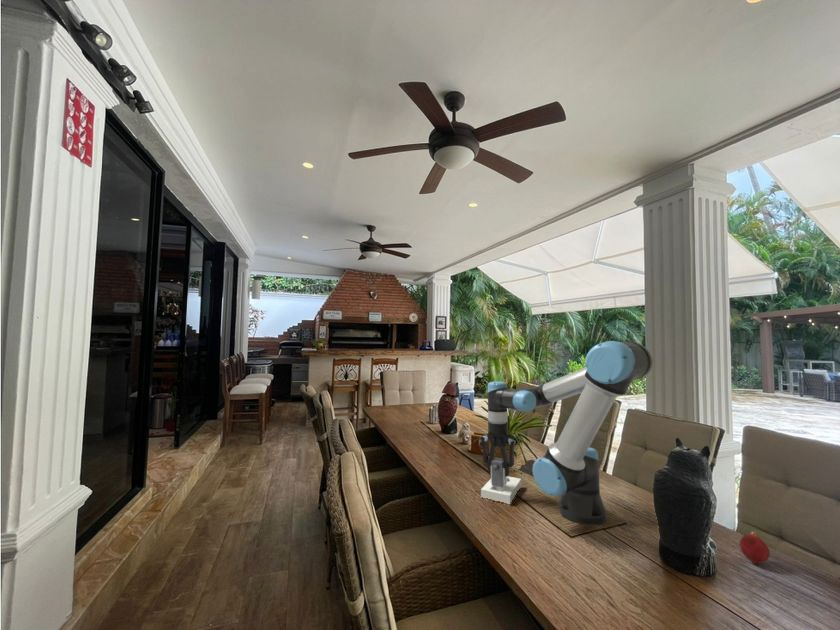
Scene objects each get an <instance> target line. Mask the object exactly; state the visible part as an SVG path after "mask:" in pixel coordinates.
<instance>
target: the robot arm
mask: <svg viewBox="0 0 840 630" xmlns="http://www.w3.org/2000/svg"><path fill="white" fill-rule="evenodd" d="M584 363H585V364H584V365H585V367H583V368H580V369H578V370H576V371H575V370H574V371H573V372H571V373H568V374H566V375H563V376H561V377H558V378H556V379H553V380H551V381H548V382H546V383H545V382H544V384H541V385H538V386H535V387H528V388H520V389H517V388H510V387H509V388H508V384H507V383H506V382H505V381H490V382H488V383H487V392H486V393H487V421H488V422H487V424H488V425H487V434H486V435H483V436H482V437H480V441H481V442H482V458H483V463H484V464H487V467H488V474H490V479H491V483H492V460H493V459H494V458H495V452H496V447H499V449H500V451H501V456H502V459H503V462H504V467H503V486H505V485H506V484H507V477H510V469H509V467H512V466H513V465H514V463H515V445H516V442H517V441H516V439H512V438H510V436H509V429H508V428H509V426H508V409H510V410H512V411H513V410H514V411H518V412H521V413H523V412H524V413H531V412H533V410H534V409H536V408H541V407H547V406H550V405H552V404H554V403H555V402H559V401H561V400H564V399H567V398H571V397H574V396H577V395H579V394H580V396H579V398H578V399H577V402H576V404H575V405H574V407H573V409H572V411H571V413H570V415H569V417H568V420H567V422H566V423H565V425H564V427H563V429H562V431H561V434H560V436H559V437H558V439H557V441H556V442H552V443H550V444H549V446H547V447H548V448H547V449H546V452H545V454H544V455H543V456H542V457H539V458H537V460H534V461H535V462H534V464H533V476H534V477H535V480H534V482H535V483H536V485H537V487H539V489H540V490H541V491H542V492H543V493H544V494H546V495H548V496H550V497H559V496H560V498H559V500H558V512H559V514H560V513H561V514H562V515H561V514H560V515H561V516H562V517H564V518H565V517H566V519H567V518H568V519H567V520H569V519H570V521H572V520H573V521H572V522H574V521H575V523H578V524H583V525H589V526H590V525H591V526H593V525H595V526H596V525H601V524H604V523H605V522H606V521H607V509H606V507H605V504H604V501H603V498H602V496H601V493H600V492H601V491H600V488H601V487H600V466H599V465H600V463H599V462H600V459H599V452H598V451H597V450H596V449H595V448H593V447H591V445H592V443H593V442H594V439H595V438H596V435H597V433H598V431H599V429H600V428H601V426H602V424H603V423H604V421H605V418H606V417H607V415H608V414H609V411H610V410H611V408H612V406H613V404H614V403H615V400H616V398H617V397H623V396H625V395H626V393H627V391H628V389H629V388H630V386H631V384H632V382H633V381H636V380H640V379H643V378H644V377H646V376H647V375H648V374H649V373H650V372H651V370H652V367H653V363H654V361H653V357H652V354H651V352H650V351H649V350H648V349H647V347H645V346H644V345H642V344H641V343H638V342H636V341H634V342H633V341H616V340H609V341H603V342H600V343H598V344H596V345H594V346H592V347H591V348H590V350H589V351H588V353H587V354H586V357H585V362H584ZM488 441H489V442H490V448H489V449H490V450H489V449H488V447H489V446H488ZM507 443H508V445H509V451H508V452H507V446H506V444H507ZM508 454H509V457H508Z"/></svg>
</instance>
